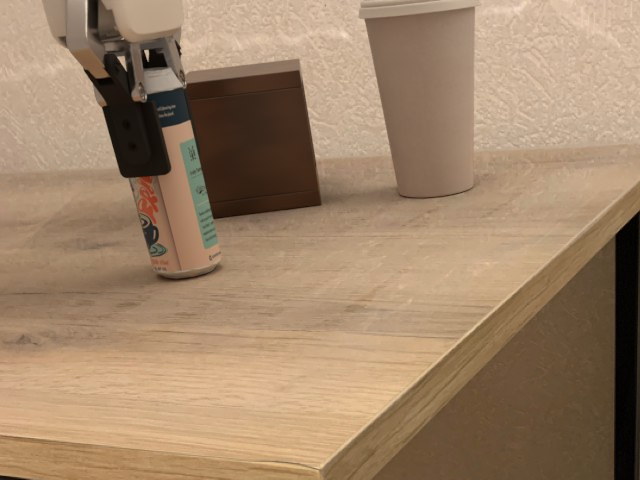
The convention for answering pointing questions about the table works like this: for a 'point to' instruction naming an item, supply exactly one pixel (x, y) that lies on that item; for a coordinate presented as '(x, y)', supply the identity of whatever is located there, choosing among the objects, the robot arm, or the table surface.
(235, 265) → the table surface
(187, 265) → the beer can
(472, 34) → the coffee cup
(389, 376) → the table surface
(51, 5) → the robot arm
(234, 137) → the wooden lidded box
